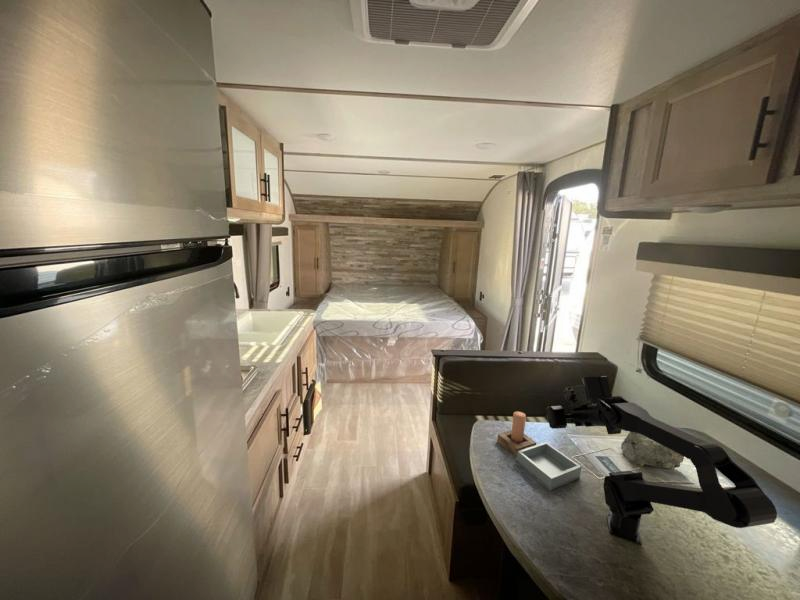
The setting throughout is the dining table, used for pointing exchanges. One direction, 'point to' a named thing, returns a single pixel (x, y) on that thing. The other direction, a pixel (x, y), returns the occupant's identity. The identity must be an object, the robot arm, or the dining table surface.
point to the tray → (548, 465)
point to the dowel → (518, 427)
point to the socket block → (511, 445)
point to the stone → (649, 452)
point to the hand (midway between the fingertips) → (559, 415)
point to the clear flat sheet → (601, 450)
